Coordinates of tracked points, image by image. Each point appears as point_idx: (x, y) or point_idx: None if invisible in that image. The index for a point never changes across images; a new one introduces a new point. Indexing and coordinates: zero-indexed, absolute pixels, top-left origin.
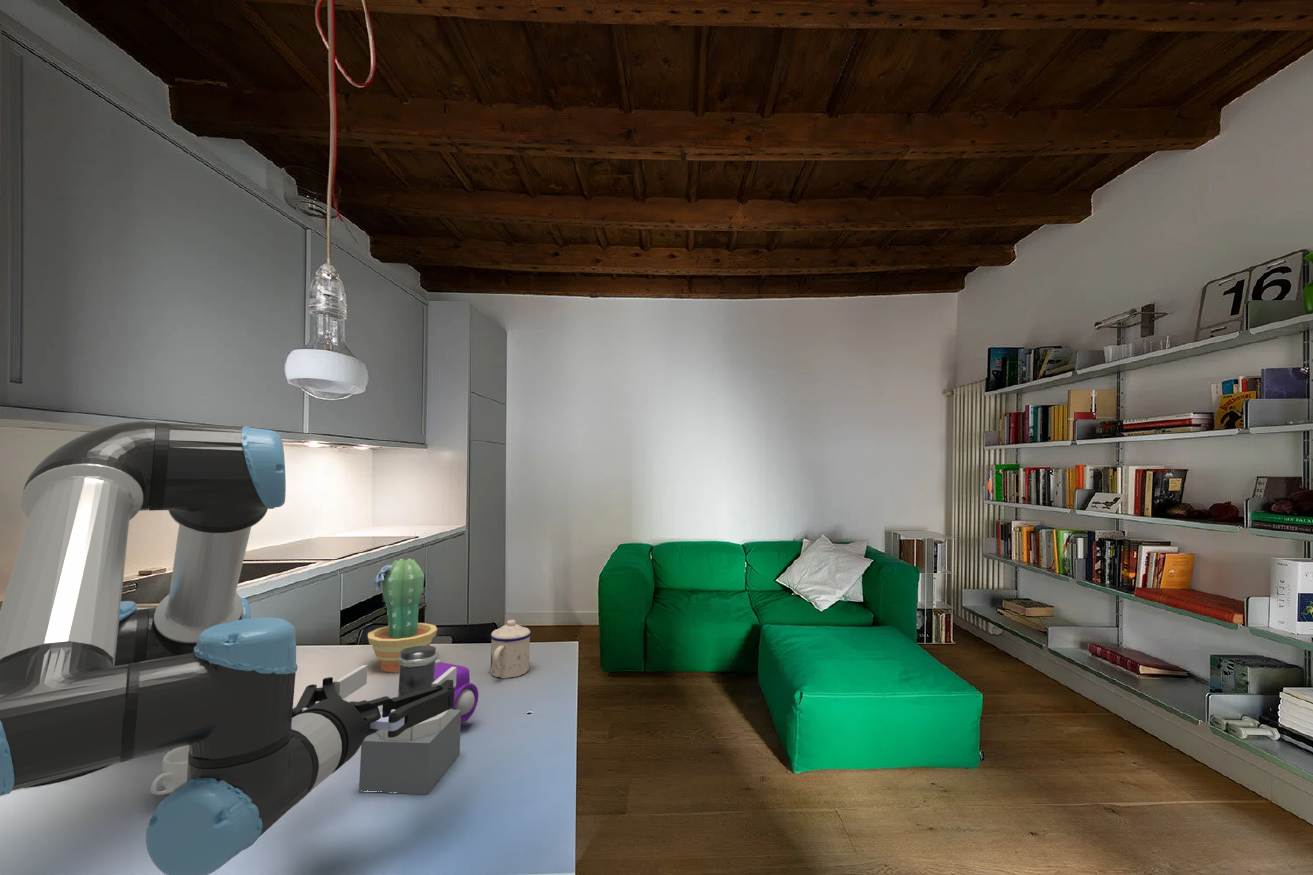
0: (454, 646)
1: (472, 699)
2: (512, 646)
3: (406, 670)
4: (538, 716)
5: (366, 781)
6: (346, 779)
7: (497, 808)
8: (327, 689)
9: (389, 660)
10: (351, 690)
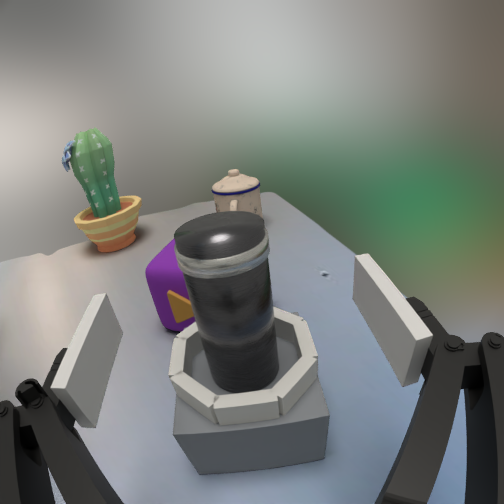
0: (156, 213)
1: (270, 280)
2: (247, 198)
3: (215, 286)
4: (341, 277)
5: (207, 467)
6: (158, 446)
7: (453, 442)
8: (46, 440)
9: (104, 241)
10: (104, 375)
